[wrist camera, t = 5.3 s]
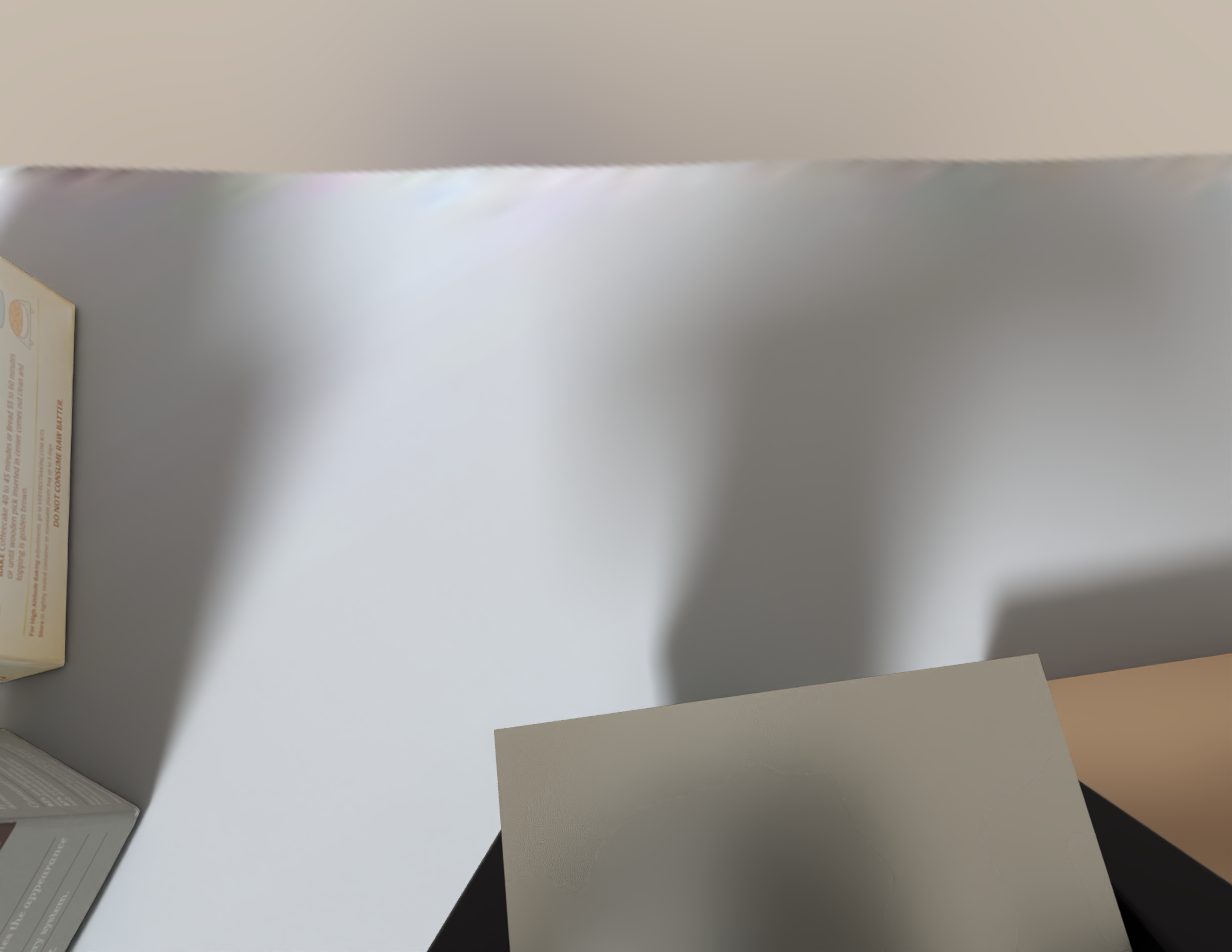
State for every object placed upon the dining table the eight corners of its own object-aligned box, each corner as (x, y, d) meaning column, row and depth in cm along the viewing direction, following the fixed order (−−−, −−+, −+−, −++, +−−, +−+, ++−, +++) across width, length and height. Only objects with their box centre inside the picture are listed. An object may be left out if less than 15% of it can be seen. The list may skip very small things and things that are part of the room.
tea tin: (866, 912, 17) (1276, 1409, 5) (654, 938, 18) (548, 1466, 5) (819, 689, 19) (1037, 653, 7) (625, 717, 19) (493, 730, 7)
